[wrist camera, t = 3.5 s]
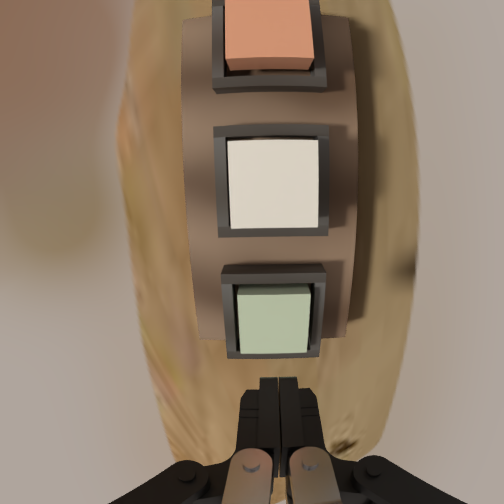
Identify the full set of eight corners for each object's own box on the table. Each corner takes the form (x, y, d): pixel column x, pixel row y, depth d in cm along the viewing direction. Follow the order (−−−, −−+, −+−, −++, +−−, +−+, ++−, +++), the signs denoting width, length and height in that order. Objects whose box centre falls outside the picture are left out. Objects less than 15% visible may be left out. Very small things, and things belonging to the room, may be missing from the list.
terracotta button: (229, 9, 12) (224, -7, 10) (303, 8, 12) (307, -8, 10) (230, 70, 13) (225, 58, 11) (308, 69, 13) (314, 58, 11)
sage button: (239, 280, 18) (237, 295, 16) (306, 279, 18) (310, 293, 16) (242, 335, 19) (240, 353, 17) (303, 334, 19) (306, 352, 17)
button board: (190, 26, 15) (176, 4, 12) (340, 24, 15) (353, 2, 11) (205, 329, 22) (196, 357, 19) (338, 327, 21) (349, 354, 18)
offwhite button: (232, 143, 14) (227, 141, 13) (311, 142, 14) (318, 140, 12) (235, 219, 16) (231, 228, 14) (311, 218, 15) (317, 227, 14)
